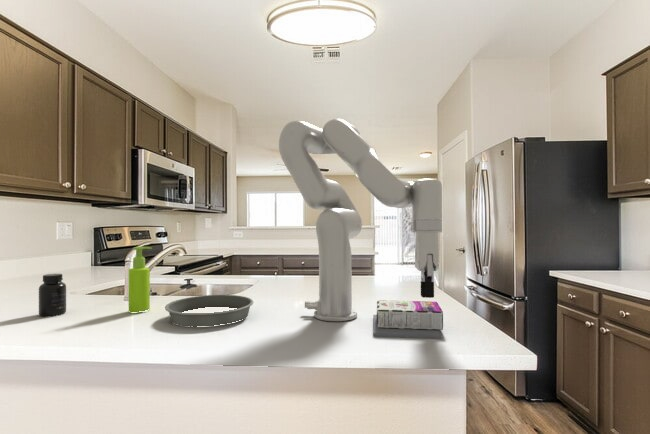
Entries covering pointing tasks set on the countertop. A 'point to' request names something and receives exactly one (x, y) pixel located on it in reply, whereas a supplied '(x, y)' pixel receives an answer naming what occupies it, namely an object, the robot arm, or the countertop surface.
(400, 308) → the candy bar box
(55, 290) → the supplement bottle
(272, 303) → the countertop surface
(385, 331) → the mat
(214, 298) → the baking ring
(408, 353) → the countertop surface
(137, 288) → the soap dispenser
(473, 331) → the countertop surface
